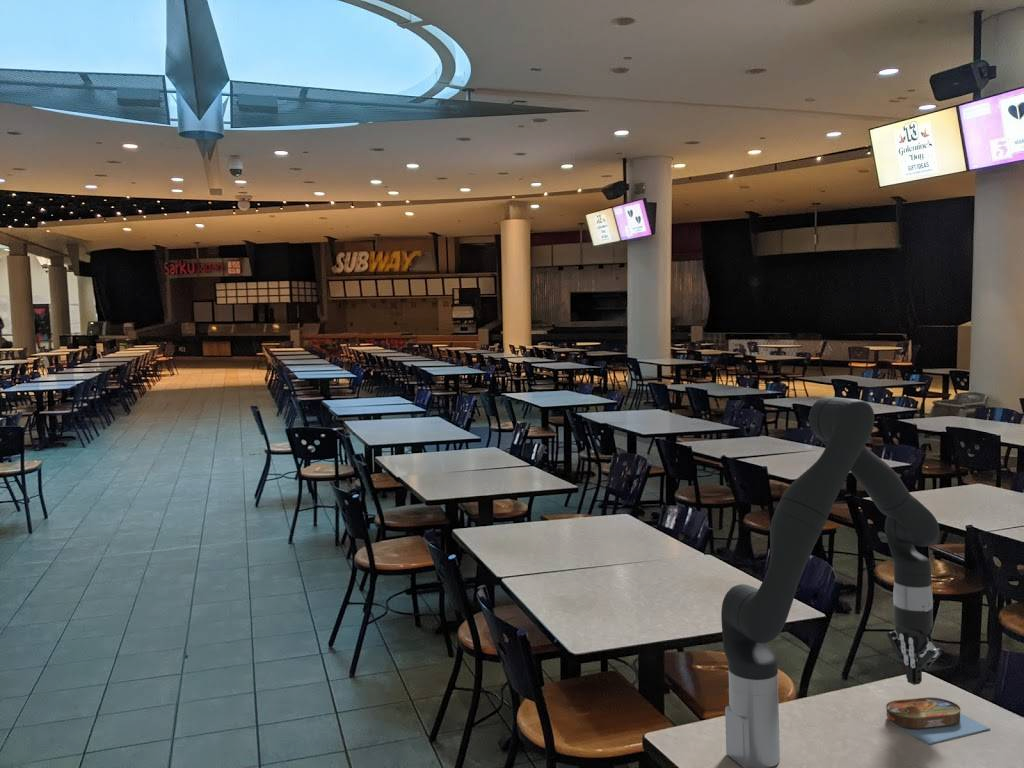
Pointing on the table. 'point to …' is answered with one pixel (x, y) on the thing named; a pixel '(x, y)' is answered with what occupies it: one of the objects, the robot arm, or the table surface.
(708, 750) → the table surface
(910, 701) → the tin
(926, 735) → the mat
